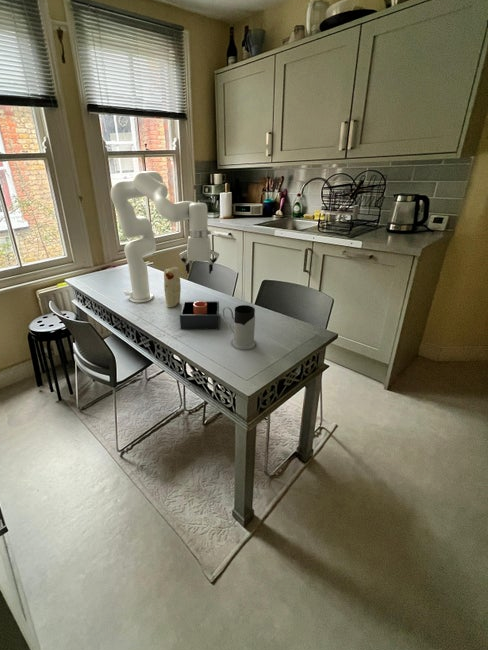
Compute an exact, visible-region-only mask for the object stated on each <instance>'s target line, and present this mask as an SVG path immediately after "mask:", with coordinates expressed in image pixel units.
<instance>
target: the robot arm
mask: <svg viewBox="0 0 488 650" xmlns="http://www.w3.org/2000/svg"><path fill="white" fill-rule="evenodd" d="M168 193H169V190H168V187H167V186H166V185H165V184H164V180H163V177H162V175H161V173H159V172H158V171H155V170H149V171H148V170H147V171H140V172H136V173H135V174H134V175H133V177H132V179H124V180H119V181H115V183H113V184H112V185H111V189H110V198H111V201H112V204H113V206H114V208H115V211H116V213H117V218H118V222H119V225H120V229H121V232H122V235H123V236H124V238H126V239H134V238H138V237H139V238H138V239H134V240H131V241H129V242H127V243H126V244H125V245H124V248H123V251H124V255H125V258H126V261H127V267H128V273H129V282H130V288H131V290H124V295H125V296H126V297H127V296H129V301H131V303H139V304H140V303H146V302H149V301H151V300H153V298H154V295H153V293H151V292H150V281H149V273H148V265H147V263H146V262H145V260H144V258H146V257H148V256H151V255H154V254H155V253H156V251H157V244H156V239H155V234H154V231H153V226H152V223H151V221H150V220H149V219H148V217H146V216H142V215H141V216H137V215H136V212H135V208H134V206H133V205H132V203H131V202H130V201H129V200H131V199H138V198H143V197H146V198H147V199H149V200H150V201H151V202H153V204H154V208H155V210H156V211H157V213H158V214H159V215H160V216H162V217H163V218H164V219H166V220H167V221H169V222H172V223H178V222H182V221H187V220H188V225H189V227H188V229H189V236H188V237H187V244H186V246H187V247H186V250H184V251H182V252H180V253H179V254H178V257H179V258H180V260H181V261H182V262H183V264H184V266H185V272H186V273H187V274H190V272H191V269H190V268H191V267H190V266H191V265H190V262H191V261H192V262H193V261H194V262H205V261H207V262H208V263H209V264H208V273H209V274H210V275H211V274H212V272H213V270H214V269H213V268H214V267H213V265H214V264H215V263H216V262H217V260H218V258H219V257H220V253H218V252H217V251H215V250H212V245H211V244H212V243H211V238H210V235H212V230H209V229H208V228H209V227H208V226H209V225H208V224H209V223H208V205H207V203H205V202H195V201H191V200H185V201H178V202H172V201H170V200H169V199H168V198H167V197H168ZM185 255H186V258H187V259H186V258H185ZM212 255H213V256H214V257H213V259H212V258H211V257H212Z"/></svg>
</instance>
